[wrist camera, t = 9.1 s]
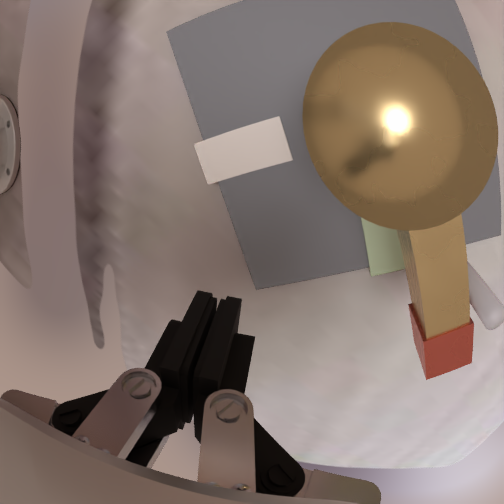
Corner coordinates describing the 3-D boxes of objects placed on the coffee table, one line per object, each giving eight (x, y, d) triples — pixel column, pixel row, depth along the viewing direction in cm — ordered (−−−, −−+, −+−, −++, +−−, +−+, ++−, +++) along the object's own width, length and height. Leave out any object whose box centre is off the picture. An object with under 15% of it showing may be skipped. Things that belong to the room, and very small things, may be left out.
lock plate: (252, 291, 27) (216, 400, 16) (164, 38, 19) (58, 2, 8) (495, 237, 20) (572, 315, 10) (437, -22, 12) (506, -83, 1)
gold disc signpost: (275, 73, 12) (264, 59, 9) (424, 29, 9) (455, 9, 6) (377, 351, 17) (385, 395, 14) (484, 312, 15) (507, 349, 11)
